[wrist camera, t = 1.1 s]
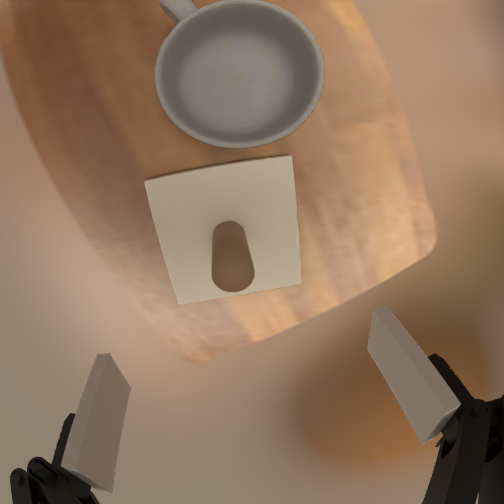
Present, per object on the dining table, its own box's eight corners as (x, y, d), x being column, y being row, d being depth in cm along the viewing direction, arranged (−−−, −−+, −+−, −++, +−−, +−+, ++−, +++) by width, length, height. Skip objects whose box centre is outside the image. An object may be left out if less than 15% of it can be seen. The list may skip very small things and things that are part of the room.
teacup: (313, 114, 23) (351, 110, 16) (206, 164, 24) (201, 179, 17) (246, -6, 17) (258, -48, 10) (139, 42, 18) (109, 13, 11)
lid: (146, 179, 23) (117, 202, 16) (288, 154, 24) (319, 166, 17) (179, 299, 29) (170, 352, 22) (299, 278, 30) (323, 326, 22)
